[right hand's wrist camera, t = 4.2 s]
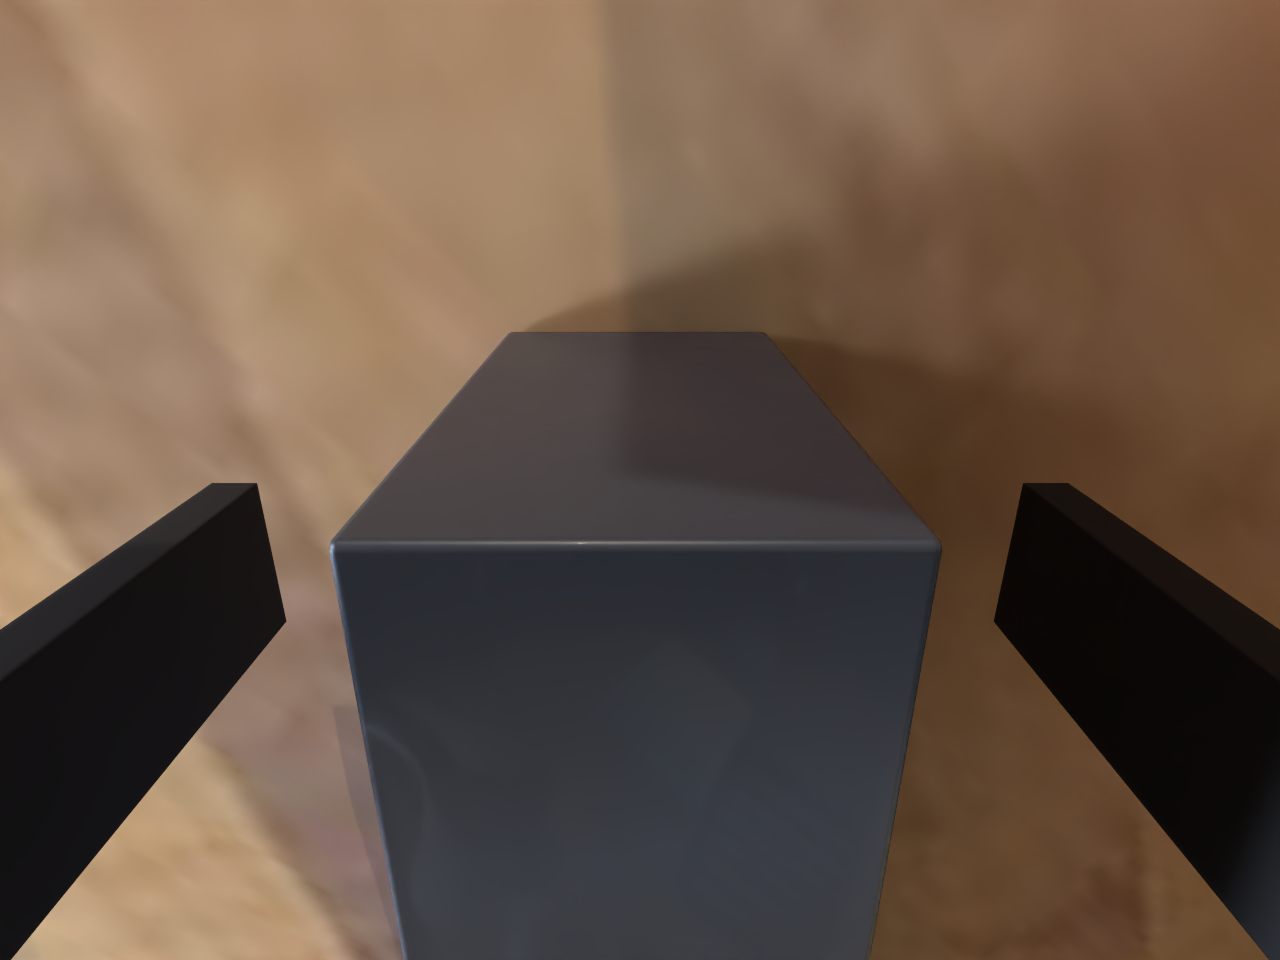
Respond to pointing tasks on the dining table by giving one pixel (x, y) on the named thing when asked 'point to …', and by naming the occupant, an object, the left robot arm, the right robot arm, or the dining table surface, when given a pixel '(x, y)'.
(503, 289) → the dining table surface
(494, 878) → the beam
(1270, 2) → the dining table surface
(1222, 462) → the dining table surface
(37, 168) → the dining table surface
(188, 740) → the right robot arm
